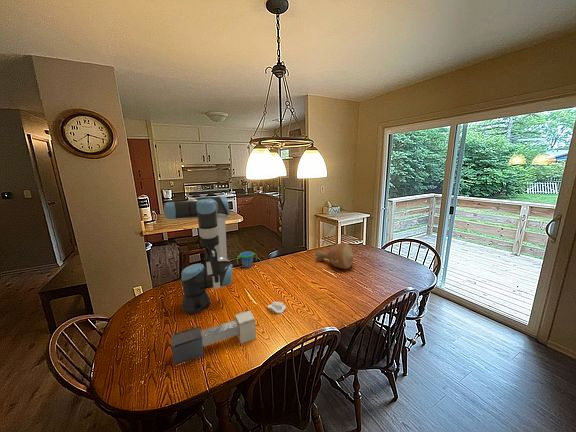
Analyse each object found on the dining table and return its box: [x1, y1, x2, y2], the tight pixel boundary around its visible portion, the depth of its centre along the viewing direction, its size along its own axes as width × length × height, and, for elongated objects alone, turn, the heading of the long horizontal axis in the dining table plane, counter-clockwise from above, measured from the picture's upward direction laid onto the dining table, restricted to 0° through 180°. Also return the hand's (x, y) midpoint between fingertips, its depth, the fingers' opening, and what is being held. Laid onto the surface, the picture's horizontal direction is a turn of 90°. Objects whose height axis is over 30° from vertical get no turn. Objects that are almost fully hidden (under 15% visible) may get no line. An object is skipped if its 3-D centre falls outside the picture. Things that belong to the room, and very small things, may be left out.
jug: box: [315, 242, 355, 270], centre depth 178 cm, size 20×19×30 cm
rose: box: [267, 301, 287, 315], centre depth 127 cm, size 10×4×10 cm
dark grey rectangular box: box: [170, 326, 205, 366], centre depth 96 cm, size 11×7×10 cm, turn 117°
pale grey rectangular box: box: [200, 319, 240, 347], centre depth 102 cm, size 23×5×5 cm, turn 117°
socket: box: [234, 309, 257, 345], centre depth 107 cm, size 7×8×10 cm
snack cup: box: [236, 250, 258, 269], centre depth 180 cm, size 16×10×10 cm
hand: (213, 280), depth 105 cm, fingers open, 13 cm apart
